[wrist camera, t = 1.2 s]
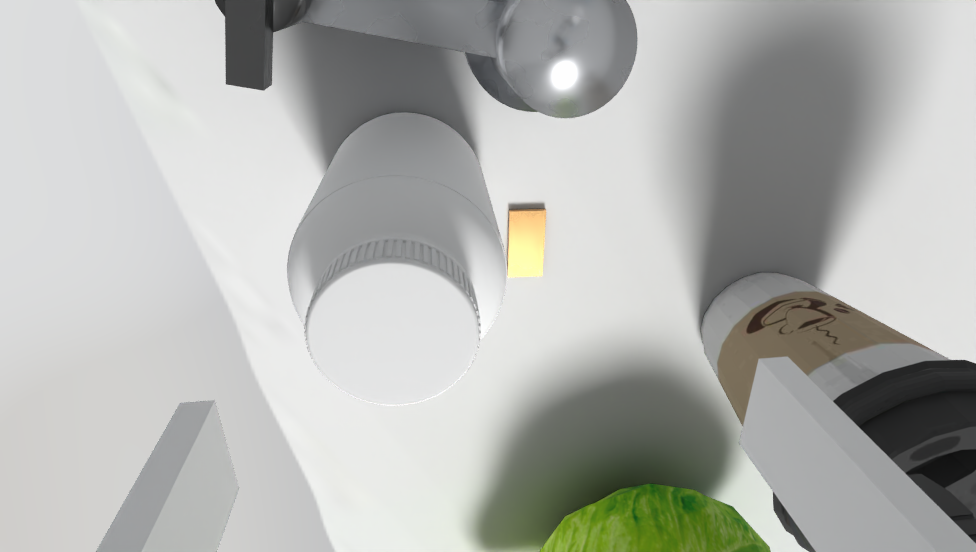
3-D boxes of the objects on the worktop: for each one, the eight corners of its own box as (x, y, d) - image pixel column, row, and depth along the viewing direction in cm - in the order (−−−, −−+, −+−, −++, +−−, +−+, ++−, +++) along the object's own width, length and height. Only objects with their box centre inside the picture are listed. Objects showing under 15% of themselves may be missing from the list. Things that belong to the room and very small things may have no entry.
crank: (609, -26, 26) (675, -28, 19) (576, 110, 28) (624, 150, 22) (258, -104, 23) (194, -137, 17) (256, 54, 26) (200, 79, 19)
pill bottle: (323, 105, 29) (241, 215, 15) (486, 111, 30) (541, 219, 16) (333, 253, 32) (273, 446, 19) (478, 254, 33) (518, 439, 20)
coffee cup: (827, 208, 34) (1089, 354, 21) (851, 352, 39) (1072, 542, 26) (646, 286, 35) (783, 472, 22) (691, 416, 40) (825, 630, 27)
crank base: (461, -52, 26) (463, -54, 25) (613, -50, 27) (621, -51, 26) (464, 276, 34) (465, 286, 33) (583, 271, 34) (588, 281, 33)
